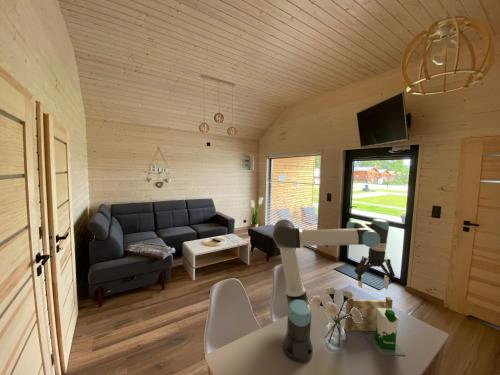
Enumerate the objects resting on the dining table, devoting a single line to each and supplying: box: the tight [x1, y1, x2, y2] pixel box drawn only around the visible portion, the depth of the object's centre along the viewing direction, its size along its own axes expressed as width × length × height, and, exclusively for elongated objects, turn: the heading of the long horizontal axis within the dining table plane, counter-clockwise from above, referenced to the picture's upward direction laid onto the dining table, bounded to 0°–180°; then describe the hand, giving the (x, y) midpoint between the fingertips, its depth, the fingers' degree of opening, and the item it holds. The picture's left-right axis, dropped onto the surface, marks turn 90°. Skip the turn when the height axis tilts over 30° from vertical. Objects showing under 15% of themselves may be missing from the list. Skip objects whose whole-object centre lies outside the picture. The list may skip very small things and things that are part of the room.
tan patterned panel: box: [344, 296, 393, 333], centre depth 124 cm, size 24×4×20 cm, turn 90°
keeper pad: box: [366, 333, 406, 357], centre depth 115 cm, size 13×13×1 cm
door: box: [351, 299, 386, 332], centre depth 123 cm, size 18×3×18 cm, turn 90°
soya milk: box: [375, 308, 400, 350], centre depth 114 cm, size 9×9×20 cm
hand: (372, 287), depth 114 cm, fingers open, 13 cm apart
